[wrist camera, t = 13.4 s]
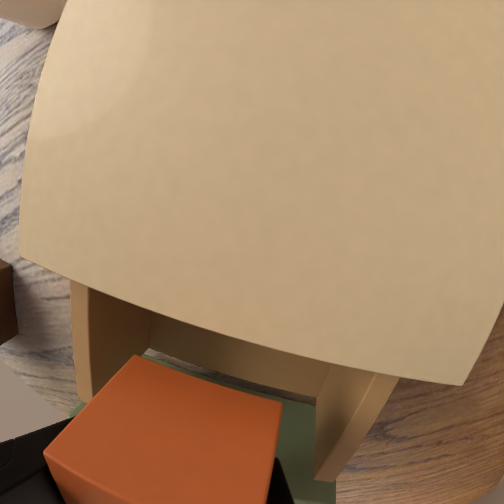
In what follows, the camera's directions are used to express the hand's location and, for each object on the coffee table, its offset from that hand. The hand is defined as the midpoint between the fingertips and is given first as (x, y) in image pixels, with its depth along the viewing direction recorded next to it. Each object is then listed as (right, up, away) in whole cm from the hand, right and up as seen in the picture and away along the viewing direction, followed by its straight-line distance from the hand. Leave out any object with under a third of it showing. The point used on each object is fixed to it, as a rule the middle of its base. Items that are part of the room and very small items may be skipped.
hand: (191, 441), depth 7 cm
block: (0, 0, 0) cm, 0 cm away
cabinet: (+4, +14, +4) cm, 16 cm away
